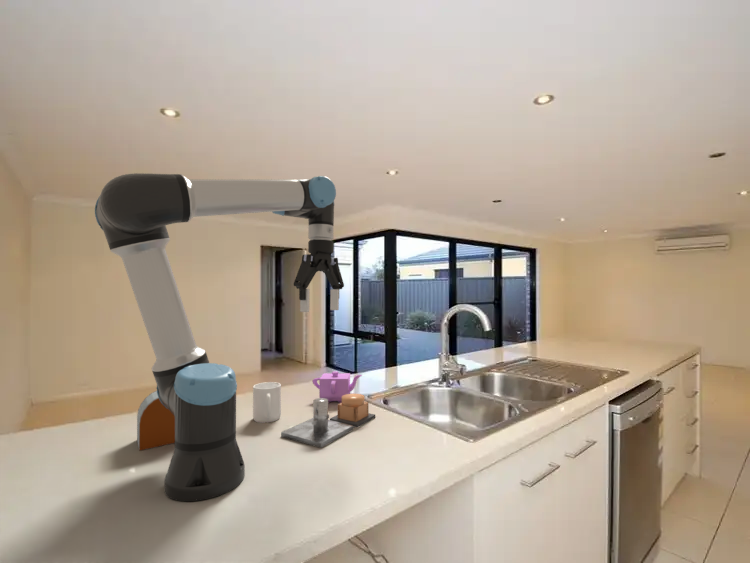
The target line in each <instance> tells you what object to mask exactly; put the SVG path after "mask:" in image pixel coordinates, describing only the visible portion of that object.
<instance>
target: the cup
mask: <svg viewBox="0 0 750 563" xmlns="http://www.w3.org/2000/svg"><path fill="white" fill-rule="evenodd" d="M281 415H282V384H281V383H280V382H275V381H267V382H260V383H256V384H254V385H253V386H252V417H253V420H254V421H255V422H257V423H260V424H262V423H263V424H264V423H265V422H267V423H271V422H275V421H278V420H279V419H280V418H281Z"/></svg>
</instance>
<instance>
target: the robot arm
mask: <svg viewBox="0 0 750 563" xmlns="http://www.w3.org/2000/svg"><path fill="white" fill-rule="evenodd" d="M336 196H337V190H336V186H335V184H334V182H333V181H332V179H330V178H329V177H327V176H325V175H318V176H313V177H312V178H310V179H309V178H307V179H305V178H304V179H294V178H293V179H284V178H283V179H281V178H280V179H279V178H278V179H272V178H271V179H267V178H266V179H259V178H258V179H250V178H249V179H243V178H241V179H233V178H232V179H231V178H230V179H229V178H228V179H222V178H221V179H219V178H218V179H214V178H213V179H208V178H207V179H189V178H187V177H186V176H184V174H181V173H180V174H178V173H176V174H175V173H171V174H170V173H143V172H142V173H138V172H137V173H135V172H134V173H125V174H122V175H118V176H116V177H113V178H112V179H110V180H109V181H108V182H107V183H105V185H104V186H103V188H102V189H101V193H100V194H99V197H98V198H97V199H96V202H95V207H94V216H95V220H96V223H97V225H98V226H99V227H100V229H101V230H102V231H103V234H104V237H105V239H106V242H107V244H108V248H109V250H110V252H111V253H113V254H114V255H117V256H119V257H120V258H121V260H122V262H123V265H124V268H125V271H126V274H127V278H128V280H129V284H130V286H131V289H132V291H133V294H134V297H135V300H136V303H137V306H138V309H139V312H140V316H141V318H142V321H143V324H144V327H145V330H146V332H147V336H148V338H149V341H150V344H151V348H152V350H153V352H154V356H155V359H156V360H155V362H154V363H153V365H152V367H151V371H152V375H153V377H154V380H155V383H156V387H155V389H156V391H157V395H158V398H159V400H160V402H161V403H162V404H163V405H164V406H165V407H166V408H167V409H169V410H170V412H171V413H172V414H173V415H174V416H175V443H174V449H173V452H172V453H173V454H172V456H171V459H170V462H169V465H168V469H167V473H166V475H165V477H164V493H165V496H167V497H168V498H169V499H172V500H174V501H179V502H195V501H196V502H197V501H198V502H199V501H203V500H209V499H212V498H213V499H214V498H215V497H218V496H221V495H223V494H226V493H228V492H230V491H232V490H233V489H235V488H236V487H237V486H239V485H240V484H241V483H242V481H243V480H244V479H245V474H246V473H245V472H246V471H245V465H246V464H245V461H244V459H243V455H242V451H241V450H240V448H239V444H238V441H237V389H238V383H237V378H236V372H235V371H234V369H233V368H231V367H230V366H228V365H225V364H221V363H219V364H218V363H215V362H213V363H212V362H210V361H209V358H208V354H207V352H206V349H204V348H203V347H200V346H198V345H197V343H196V341H195V337H194V334H193V332H192V327H191V326H190V322H189V319H188V315H187V312H186V310H185V306H184V303H183V300H182V296H181V294H180V291H179V288H178V284H177V282H176V279H175V275H174V272H173V269H172V266H171V263H170V260H169V256H168V253H167V250H166V247H167V245H168V243H169V242H170V241H171V238H170V235H169V233H168V229H167V226H169V225H172V224H173V225H174V224H177V223H178V224H180V223H190V221H191V220H192V219H193V218H196V217H209V216H211V217H212V216H227V215H239V214H240V215H242V214H254V213H255V214H256V213H270V212H271V213H272V214H275V215H279V216H281V217H282V216H283V217H292V218H299V219H306V220H308V227H307V228H308V234H307V235H308V237H307V238H308V240H309V241H308V244H307V246H308V248H307V250H308V253H307V254H302V255H301V263H300V265H299V268H298V271H297V273H296V276H295V279H294V281H293V286H294V287H295V288H296V289H298V290H299V291H298V292H299V294H298V296H299V298H298V299H299V306H300V307H299V312H300V313H310V288H308V287H309V285H310V283H311V282H312V280H313V279H314V277H315V276H316V273H318V272H323V274H324V275H325V277H326V278H327V281H328V282H329V284H330V287H331V289H330V302H329V303H330V306H329V307H330V310H329V311H339V309H340V308H339V306H340V304H339V302H340V301H339V300H340V290H342V289H343V288H345V283H344V280H343V277H342V272H341V270H340V267H339V259H338V257H332V256H331V255H332V254H333V253H334V241H333V240H334V223H335V221H334V220H335V218H334V217H335V216H334V215H335V199H336Z"/></svg>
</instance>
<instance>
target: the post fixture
mask: <svg viewBox="0 0 750 563" xmlns="http://www.w3.org/2000/svg"><path fill="white" fill-rule="evenodd" d="M312 403H313V406H312V408H313V409H312V414H313V415H312V416H313V417H312V418H309V419H308V420H305V421H303V422H301V423H299V424H296V425H294V426H292V427H289V428H287V429H285V430H282V431H281V432H280V437H282V438H285V439H287V440H292V441H295V442H298V443H302V444H306V445H310V446H313V447H317V448H319V449H322V448H324V447H326V446H327V445H329V444H330V443H331V444H332V442H334V441H336V440H338V439H339V438H341V437H343V436H345V435H347V434H348V433H350V432H352V431H354V427H353V425H349V424H344V423H340V422H336V421H331V420H330V413H329V403H328V399H325V398H315V399H313V402H312Z"/></svg>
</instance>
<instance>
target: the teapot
mask: <svg viewBox="0 0 750 563" xmlns="http://www.w3.org/2000/svg"><path fill="white" fill-rule="evenodd" d="M362 376H363V375H362V374H357V375H355V376H354V377H353V379H352V382H351V373H350V372H349V373H347V372H346V373H339V371H337V370H333V371H331V372H330V373H329V372H328V373H327V372H325V373H324V372H323V373H322V374H321V377H315V378H313V379H312V384H313V385H314V386H315V387H316V388H317V389H318V390H319V393H318V394H319V396H318V397H319V398H325V399H328V404H330V403H331V402H337V403H338V404H340V403H342V396H343V395H346V394H351V392H352V391H353V390H354V389H355V387H356V384H357V381H358V379H359V378H360V377H362ZM318 381H319V383H318Z"/></svg>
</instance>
